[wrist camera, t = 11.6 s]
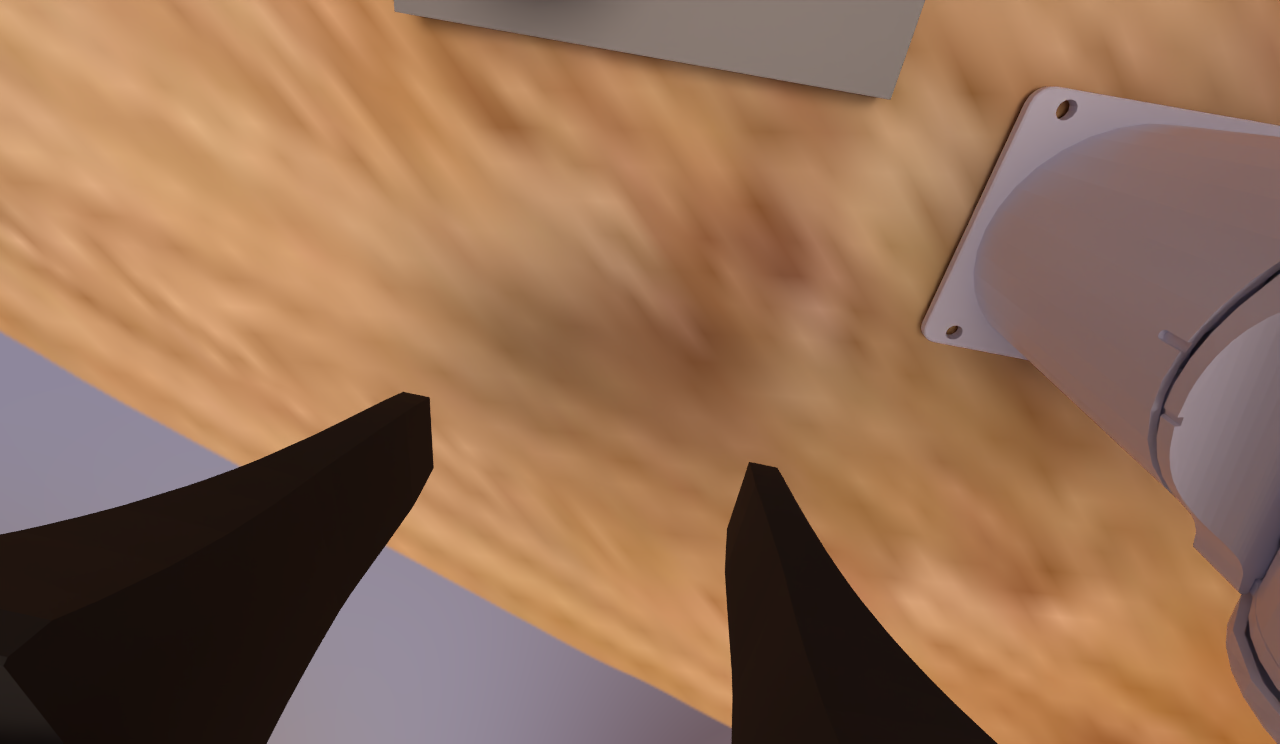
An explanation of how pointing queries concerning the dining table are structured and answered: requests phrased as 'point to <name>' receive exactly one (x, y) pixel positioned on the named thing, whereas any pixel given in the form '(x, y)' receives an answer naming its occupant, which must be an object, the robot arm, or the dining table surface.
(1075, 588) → the dining table surface
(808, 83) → the knob mounting plate
